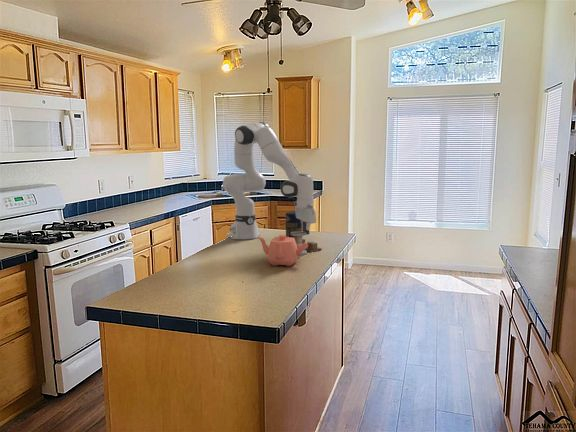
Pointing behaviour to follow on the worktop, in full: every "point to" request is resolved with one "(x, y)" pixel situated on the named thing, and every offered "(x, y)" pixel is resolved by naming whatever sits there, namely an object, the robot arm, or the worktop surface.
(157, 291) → the worktop surface
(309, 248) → the board
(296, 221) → the canister
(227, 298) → the worktop surface
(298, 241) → the bobbin
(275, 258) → the teapot
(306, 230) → the cylinder
